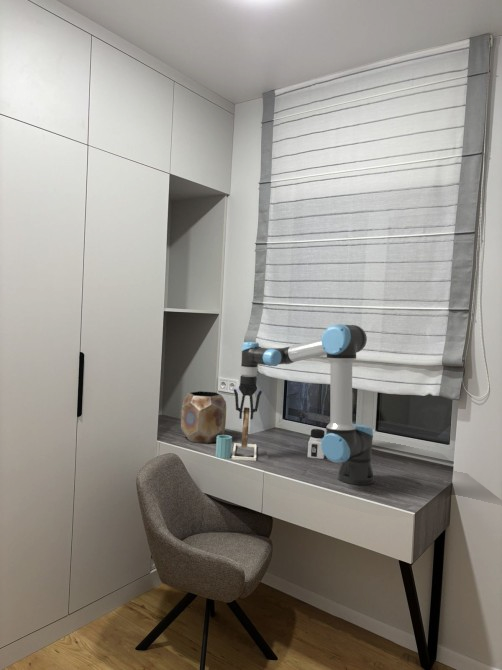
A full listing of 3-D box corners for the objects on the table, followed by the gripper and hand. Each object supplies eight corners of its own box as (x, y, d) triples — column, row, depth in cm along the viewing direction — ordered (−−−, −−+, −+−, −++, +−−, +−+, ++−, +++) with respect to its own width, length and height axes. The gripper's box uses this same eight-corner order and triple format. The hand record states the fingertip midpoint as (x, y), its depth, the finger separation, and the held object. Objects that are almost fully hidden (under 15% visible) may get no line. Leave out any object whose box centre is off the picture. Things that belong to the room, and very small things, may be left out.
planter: (174, 434, 275) (176, 390, 274) (217, 433, 285) (220, 390, 284) (186, 445, 255) (188, 398, 254) (232, 443, 264) (234, 397, 263)
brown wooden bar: (247, 448, 235) (249, 408, 235) (241, 448, 235) (243, 408, 235) (247, 445, 241) (249, 406, 241) (241, 445, 241) (244, 406, 241)
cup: (230, 461, 233) (231, 439, 233) (214, 460, 233) (216, 438, 233) (231, 456, 240) (232, 435, 240) (216, 455, 240) (217, 434, 240)
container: (323, 459, 244) (325, 432, 244) (307, 457, 246) (309, 430, 245) (324, 455, 252) (326, 428, 251) (308, 453, 254) (310, 427, 253)
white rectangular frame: (255, 462, 232) (256, 458, 232) (231, 461, 233) (231, 456, 232) (256, 448, 256) (256, 444, 256) (234, 447, 257) (234, 443, 256)
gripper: (265, 375, 241) (262, 425, 243) (232, 373, 242) (229, 423, 243) (265, 377, 234) (262, 428, 235) (231, 375, 234) (228, 426, 235)
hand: (245, 425), depth 239 cm, fingers closed on brown wooden bar, 2 cm apart
